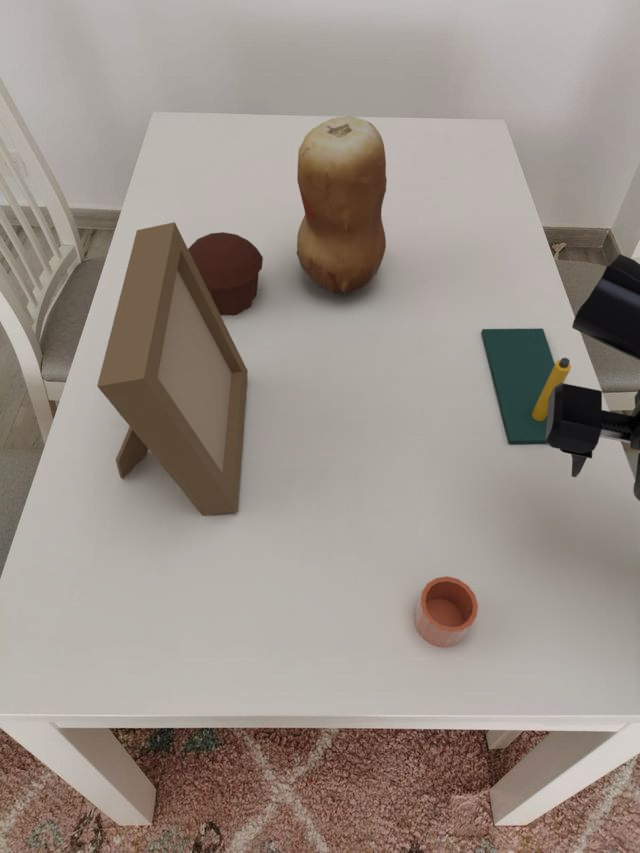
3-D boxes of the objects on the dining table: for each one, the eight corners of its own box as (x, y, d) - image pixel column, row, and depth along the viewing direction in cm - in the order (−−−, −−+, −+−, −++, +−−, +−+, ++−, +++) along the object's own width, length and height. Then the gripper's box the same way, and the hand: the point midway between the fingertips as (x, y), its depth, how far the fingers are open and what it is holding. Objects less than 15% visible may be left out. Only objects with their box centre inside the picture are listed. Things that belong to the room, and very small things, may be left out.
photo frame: (248, 375, 86) (227, 221, 66) (238, 515, 73) (209, 377, 53) (141, 376, 86) (87, 222, 65) (112, 516, 73) (35, 379, 53)
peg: (545, 412, 82) (573, 356, 73) (545, 422, 81) (573, 367, 72) (531, 409, 82) (557, 353, 73) (531, 419, 81) (557, 364, 72)
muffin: (178, 314, 93) (165, 260, 85) (203, 267, 99) (194, 213, 91) (254, 327, 91) (248, 274, 83) (274, 279, 98) (271, 225, 90)
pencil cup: (469, 603, 67) (480, 584, 63) (463, 654, 64) (474, 638, 59) (418, 590, 68) (425, 570, 63) (409, 640, 65) (416, 623, 60)
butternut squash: (289, 260, 101) (283, 105, 80) (368, 247, 103) (381, 93, 82) (309, 318, 93) (308, 162, 73) (394, 303, 95) (416, 148, 75)
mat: (577, 443, 80) (580, 439, 79) (508, 444, 79) (510, 440, 79) (541, 332, 91) (543, 328, 91) (481, 332, 91) (482, 328, 91)
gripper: (574, 435, 45) (519, 532, 58) (853, 494, 42) (731, 582, 55) (578, 331, 52) (527, 438, 64) (821, 376, 49) (718, 479, 61)
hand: (621, 483), depth 61 cm, fingers open, 9 cm apart
